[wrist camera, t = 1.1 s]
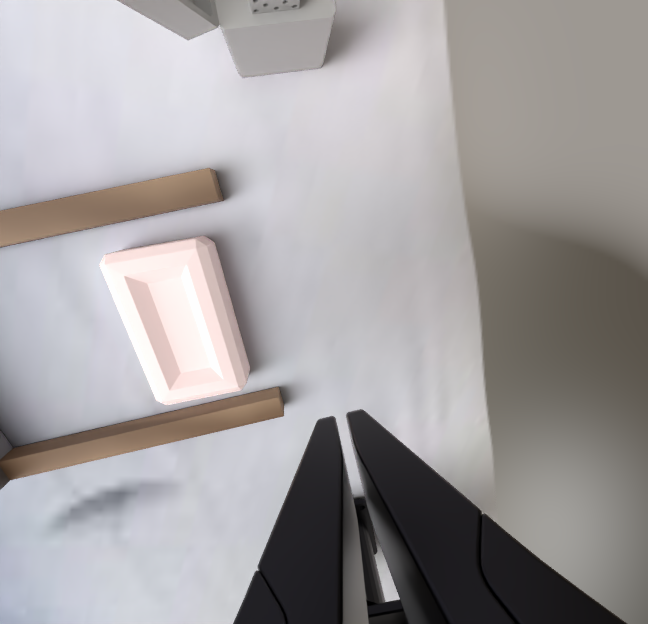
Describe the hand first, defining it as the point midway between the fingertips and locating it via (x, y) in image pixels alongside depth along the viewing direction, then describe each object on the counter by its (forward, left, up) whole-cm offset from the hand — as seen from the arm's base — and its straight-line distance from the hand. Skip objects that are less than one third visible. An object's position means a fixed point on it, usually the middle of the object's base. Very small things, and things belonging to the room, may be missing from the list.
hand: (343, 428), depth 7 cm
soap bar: (0, +7, -13) cm, 15 cm away
